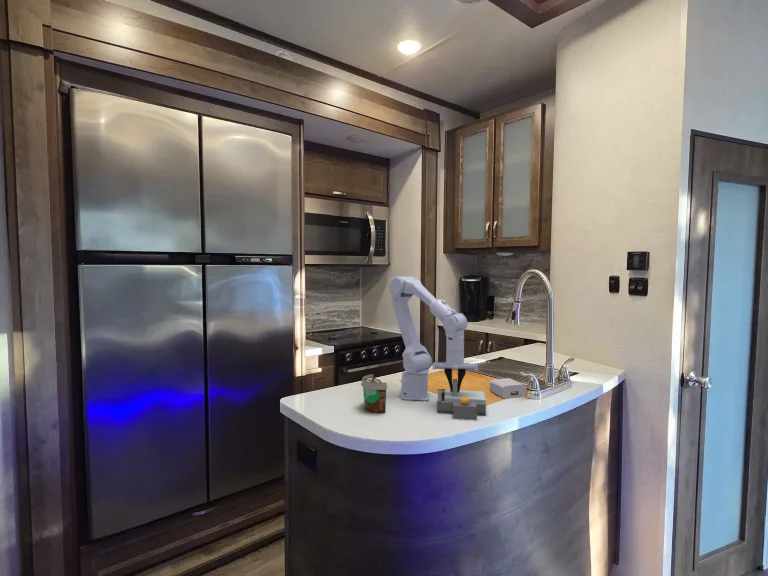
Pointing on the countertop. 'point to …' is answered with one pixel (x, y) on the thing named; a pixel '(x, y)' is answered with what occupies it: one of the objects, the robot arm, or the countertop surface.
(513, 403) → the countertop surface
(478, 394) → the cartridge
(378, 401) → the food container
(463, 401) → the plunger
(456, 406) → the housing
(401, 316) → the robot arm
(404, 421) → the countertop surface
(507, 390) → the charger
